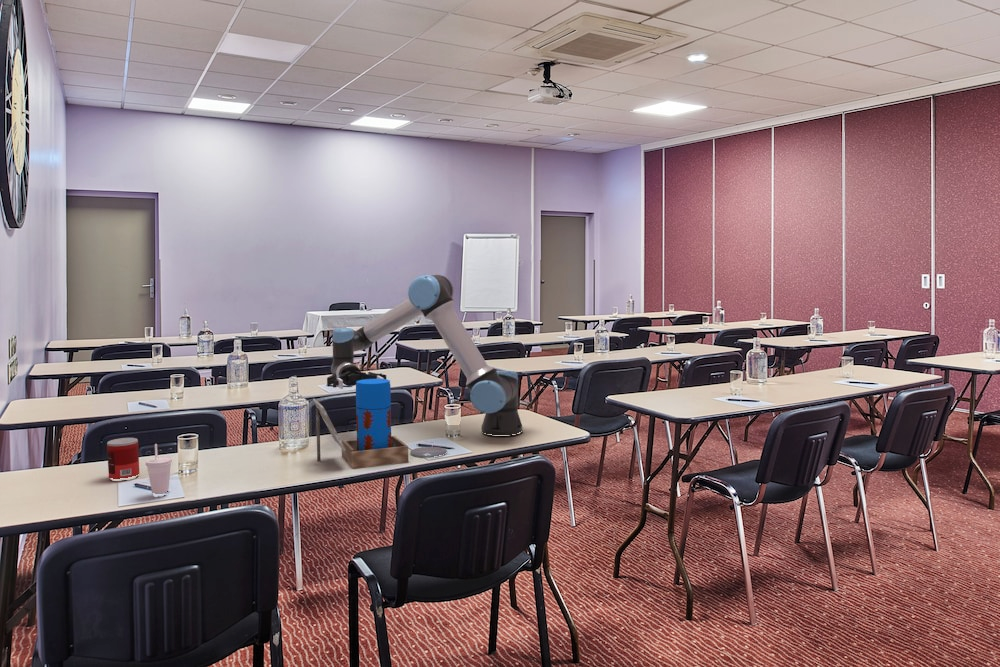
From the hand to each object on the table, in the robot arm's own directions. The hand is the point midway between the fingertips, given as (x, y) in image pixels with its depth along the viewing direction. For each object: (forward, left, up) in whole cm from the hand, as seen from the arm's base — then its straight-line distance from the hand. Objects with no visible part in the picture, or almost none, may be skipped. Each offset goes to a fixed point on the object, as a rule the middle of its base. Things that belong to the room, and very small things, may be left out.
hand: (362, 383), depth 233 cm
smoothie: (+60, +24, -23) cm, 69 cm away
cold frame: (+4, +12, -23) cm, 26 cm away
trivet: (-19, +12, -23) cm, 32 cm away
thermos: (-1, +12, -23) cm, 26 cm away
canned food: (+70, +2, -23) cm, 74 cm away
